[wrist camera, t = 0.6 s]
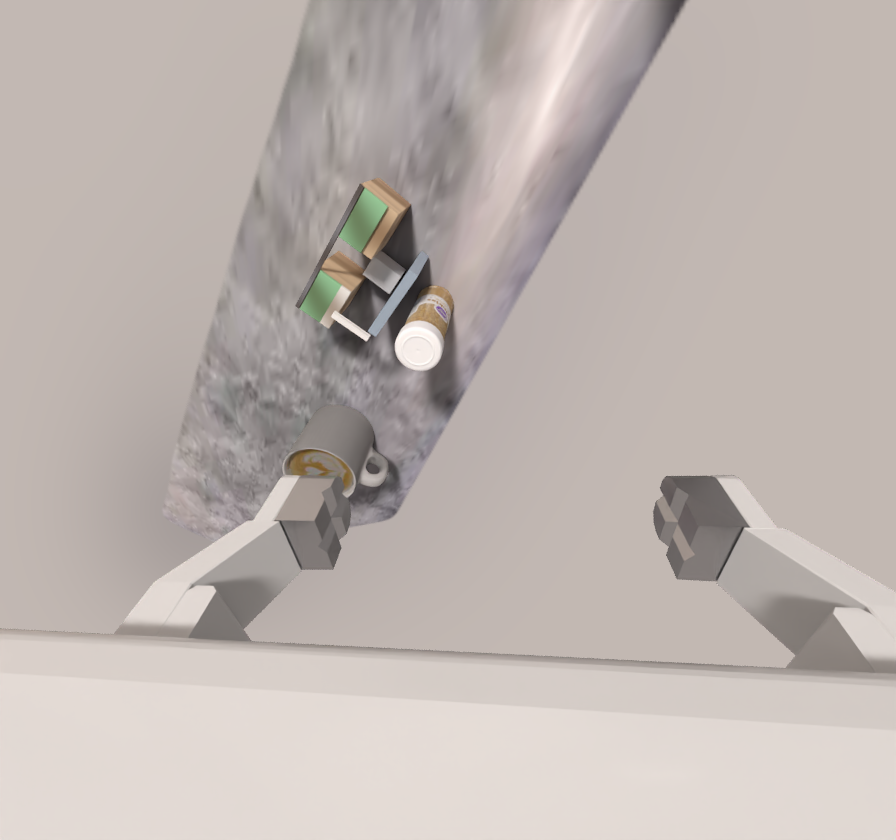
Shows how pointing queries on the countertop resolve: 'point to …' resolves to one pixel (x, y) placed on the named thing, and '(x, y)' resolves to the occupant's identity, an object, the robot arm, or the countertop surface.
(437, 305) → the sprinkles bottle
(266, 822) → the robot arm
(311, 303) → the tan and green block
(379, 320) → the gauge plunger
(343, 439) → the coffee mug
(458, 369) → the countertop surface
